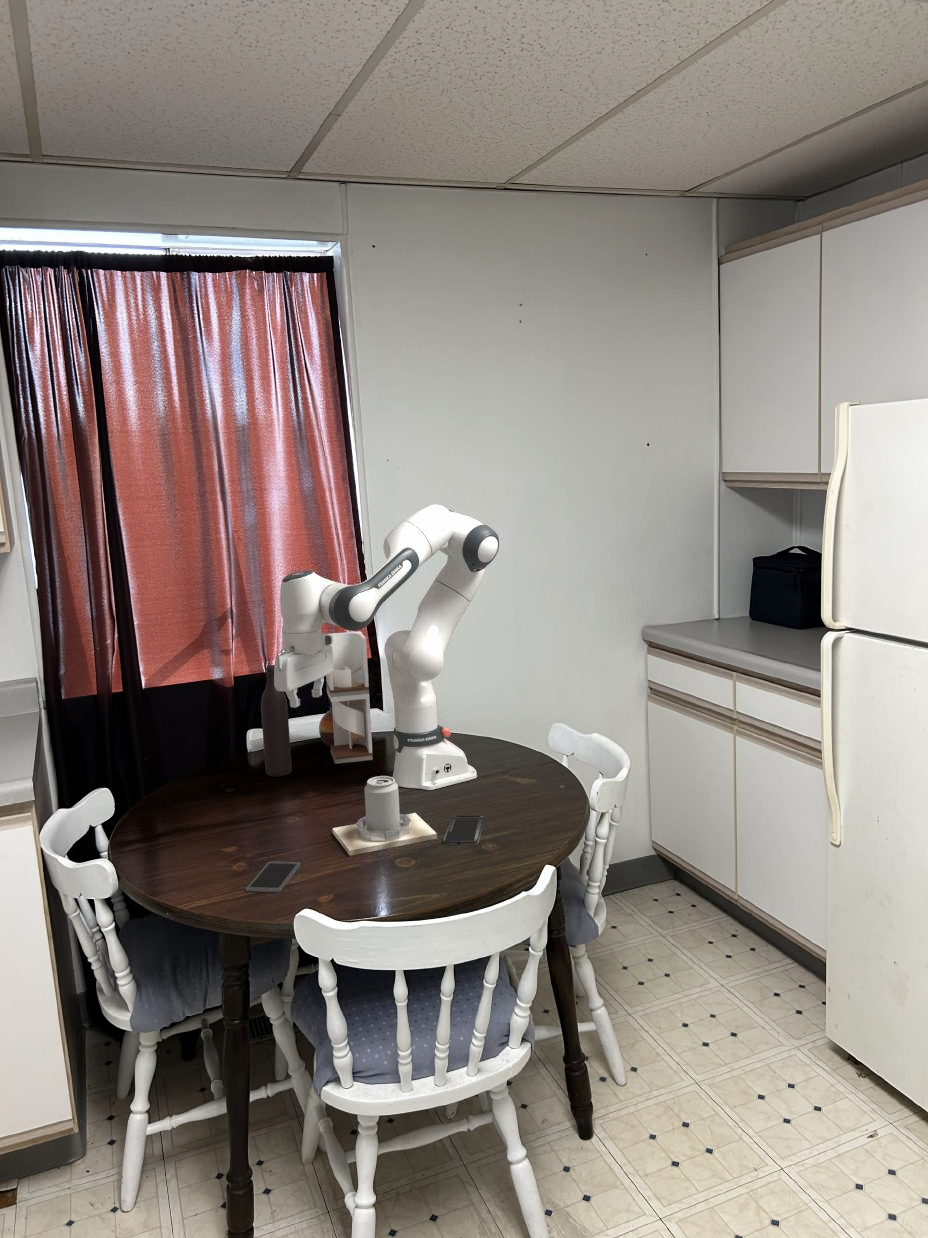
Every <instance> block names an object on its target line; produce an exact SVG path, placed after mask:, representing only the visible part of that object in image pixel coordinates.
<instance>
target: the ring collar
mask: <svg viewBox="0 0 928 1238" xmlns="http://www.w3.org/2000/svg"><path fill="white" fill-rule="evenodd" d="M399 814H400V824H402V825H403V826H401V827H399V828H397V829H393V830H388V831H371V830H368V829H364V828H365V827H367V824H366V815H365V816H363V817H361V818H358V820H357V822H356V823H355V824H356V834H357V835H358V836H359V837H360V838H361V839H365V840H368V841H383V842H385V841H391V840H396V839H400V838H402V837H404V836H406V835H408V834H409V833H410V831H411V819H410V818H409V817H408V816H407V815H406V814H403V813H400V812H399Z"/></svg>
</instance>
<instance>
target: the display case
mask: <svg viewBox="0 0 928 1238" xmlns="http://www.w3.org/2000/svg"><path fill="white" fill-rule="evenodd" d="M327 634H328V635H332V636H333V643H332V644H331V646H332V649H333V670H332V673H331V674H328V675H326V676H325V678H326V679H325V681H326V693H327V696H328V699H329V698H330V700H331V702H332V713H333V729H334V745H330V746H331V747H330V746H329V747H330V754H331V756H332V759H333V762H334V764H335V765H336V764H344V763H355V762H364V761H372V760H373V741H372V740H373V739H372V721H371V703H370V686H369V685H370V683H369V667H368V649H367V638H366V636H365V635H364V634H363V633H362V631H361V630H358V631H348V632H335V633H334V632H333V633H327Z"/></svg>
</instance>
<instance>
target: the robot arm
mask: <svg viewBox="0 0 928 1238" xmlns="http://www.w3.org/2000/svg"><path fill="white" fill-rule="evenodd" d="M499 538H500V537H499V535H498V533H497V532H496V531H495V530H494V529H493V528H491V527H490V526H489V525H487V524H485V523H482V522H480V521H478V520H477V519H475V518H473V517H471V516H468V515H463V514H461V513H458V512H454V511H453V510H451V509H448V508H447V507H445V506H443V505H440V504H431V505H428V506H425V507H424V508H422V509H420V510H418V511H416V512H415V513H413V514H412V515H410V516H408V517H407V518H405V519H403V521H402V522H401V521H400V522H399V524H397V525H396V526H395V527H394V528H393V529H391V531H390V532H389V533H388V534H387V535H386V537H385V538H384V540H383V552H384V556H385V558H386V561H385V563H384V564H382V565H381V566H380V567H379V568H378V569H377V570H376V571H375V572H373V574H371V575H370V576H369V577H368V578H367V579H365V580H364V581H362V582H361V583H357V584H345V583H340V582H338V581H334V580H330V579H328V578H324V577H322V576H320V575H319V574H316V572H314V571H313V570H309V569H307V570H299V571H295V572H291V573H289V574H287V575H286V576H284V577H283V579H282V580H281V583H280V587H279V588H280V589H279V606H280V614H281V617H282V628H281V635H282V649H281V650H279V653H278V655H277V656H276V659H275V662H274V665H275V667H274V686H275V688H276V690H277V691H283V692H285V695H287V698H288V700H289V706H290V708H295V709H296V708H298V707H300V706H301V698H298V695H297V693H298V689H299V688H301V687H303V686H306V685H307V684H310V683H312V682H314V683H313V688H312V689H311V696H312V698H319V697H321V696H322V695H323V692H322V690H323V689H322V688H323V685H324V681H325V679H324V678H325V677H326V675H328V674H331V673H332V670H333V649H332V646H331V644H332V643H333V636H332V635H328V634H329V633H324V632H322V625H323V624H325V623H328V624H330V625H334V626H338V627H340V628H342V629H344V630H347V631H348V632H358V631H361V630H363V629H364V628H366V627H367V626H368V625H369V624H371V622H372V621H373V620H374V619H375V617H376V614H377V613H378V611H379V609H380V608H381V606H382V605H383V604H384V603H385V602H386V601H387V599H389V598H390V597H391V596H392V595H393V594H394V593H395V592H396V591H397V590H398V589H399V588H401V586H403V585H404V583H406V582H407V581H408V580H409V579H410V578H411V577H412V576H413V574H414V573H416V571H417V570H418V569H419V567H421V566H422V565H423V564H425V563H426V562H427V561H429V559H431V558H432V557H433V556H434V555H436V554H437V553H438V552H439V551H440V552H441V553H443V554H444V555H446V556H447V559H446V563H445V565H444V566H443V567H442V568H441V570H440V571H439V572H438V574H437V575H436V577H435V579H434V580H433V581H432V583H431V585H430V587H429V588H428V590H427V591H426V593H425V594H424V595H423V598H422V599H421V601H420V602H419V604H418V607H417V613H416V616H415V619H414V621H413V624H412V626H411V629H410V630H407V629H406V630H398V631H395V632H394V633H392V634H390V635H389V636H388V637H387V639H386V640H385V642H384V647H383V649H384V654H385V659H386V663H387V670H388V677H389V682H390V687H391V691H392V692H391V693H392V699H393V709H394V710H393V712H394V726H395V727H393V747H394V750H395V757H394V767H393V773H392V776H391V777H392V778H394V779H395V783H396V784H397V785H398V787H401V788H402V787H403V788H408V789H421V790H426V791H433V790H436V789H440V788H444V787H447V786H451V785H455V784H460V783H463V782H467V781H471V780H474V779H477V777H478V774H477V770H476V769H475V768H474V767H473V766H472V765H470V764H468V759H467V756H466V754H465V752H464V751H463V750H462V749H461V748H459V747H458V746H457V745H455V744H454V743H452V742H451V741H449V740H448V739H446V738H450V736H451V735H452V732H451V730H450V729H449V728H447V727H443V726H441V725H440V724H438V713H437V712H438V711H437V707H438V706H437V695H436V693H435V689H434V687H433V683H432V680H434V679H435V678H437V677H438V676H439V675H440V673H442V670H443V668H444V662H445V655H446V652H447V649H448V646H449V644H450V642H451V640H452V636H453V634H454V632H455V630H456V628H457V626H458V625H459V622H460V620H461V619H462V617H463V616H464V614H465V613H466V610H467V609H468V607H469V606H470V604H471V602H472V601H473V599H474V597H475V596H476V594H477V592H478V589H479V587H480V585H481V583H482V580H483V578H484V575H485V571H486V569H485V568H487V566H489V565H490V564H491V563H492V562H493V561H494V560H495V557H497V554H498V553H499V548H500V539H499Z"/></svg>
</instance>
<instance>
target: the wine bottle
mask: <svg viewBox="0 0 928 1238" xmlns="http://www.w3.org/2000/svg"><path fill="white" fill-rule="evenodd" d="M274 667H275V664H269V665H266V667H265V673H266V676H267V678H266V685H265V688H264V691H263V692H262V696H261V699H260V700H261V701H260V714H261V728H262V739H263V740H262V741H263V754H264V766H265V767H264V768H265V774H266V775H267V776H270V777H285V776H287V775H289V774H291V773H292V770H293V765H292V750H291V739H290V724H289V723H290V721H289V711H288V709H289V708H288V701H287V697H286V693H284V691H277V690H276V688H275V686H274Z"/></svg>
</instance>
